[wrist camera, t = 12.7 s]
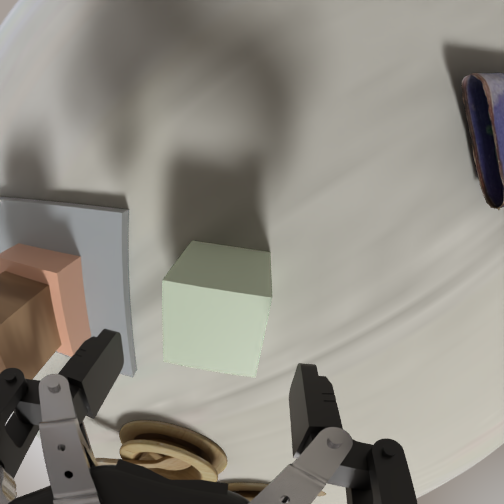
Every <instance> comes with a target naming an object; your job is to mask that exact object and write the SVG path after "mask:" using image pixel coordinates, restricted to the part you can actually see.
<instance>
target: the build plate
mask: <svg viewBox="0 0 504 504" xmlns="http://www.w3.org/2000/svg"><path fill="white" fill-rule="evenodd" d="M128 218H129V210H128V209H119V208H111V207H102V206H93V205H84V204H74V203H65V202H55V201H44V200H34V199H23V198H11V197H0V274H1V273H2V272H4V271H7V272H10V273H13V274H16V275H19V276H22V277H25V278H28V279H32V280H35V281H38V282H41V283H45V284H48V285H49V288H50V293H51V299H52V304H53V309H54V314H55V319H56V323H57V328H58V332H59V336H60V340H61V344H62V345H61V346H60V347H59V348H58V349H57V350H56V352H58V353H60V354H63V355H65V356H68V357H72V356H73V355H74V353H75V352H76V351H77V350H79V347H80V346H81V345H82V344H83V342H84V341H86V340H87V339H89V338H91V337H93V336H94V337H97V336H98V335H99V334H100V333H101V331H102V330H103V329H109V330H113V331H117V332H120V334H121V339H122V347H123V354H124V364H123V368H122V370H121V372H120V374H123V375H126V376H130V377H133V376H134V374H135V373H136V371H137V367H136V360H135V351H134V342H133V332H132V321H131V308H130V291H129V264H128Z"/></svg>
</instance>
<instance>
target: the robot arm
mask: <svg viewBox="0 0 504 504" xmlns="http://www.w3.org/2000/svg"><path fill="white" fill-rule="evenodd" d="M123 364H124V354H123V347H122V339H121V334H120V332H117V331H113V330H109V329H103V330H102V331H101V333H100V334H99V335H98V336H97V337H94V336H93V337H91V338H89V339H87V340H86V341H84V342H83V344H82V345H81V346H80V347H79V350H77V351H76V352H75V353H74V355H73V356H72V357H71V358H70V360H69V361H68V362H67V363H66V365H65V366H64V367H63V368H62V370H61V371H60V372H59V373H58V374H50V375H47V376H45V377H44V378H42V379H41V381H38V380H31V379H25V376H24V374H23V372H22V371H21V370H19V369H17V368H7V369H5V370H3V371H2V372H1V373H0V504H311V503H312V502H313V500H314V499H315V498H316V497H317V495H318V494H319V493H320V492H321V490H322V489H323V488H324V487H325V485H326V483H328V484H333V485H337V486H342V487H346V495H347V504H417V500H416V495H415V491H414V487H413V483H412V479H411V476H410V472H409V468H408V464H407V461H406V457H405V454H404V450H403V448H402V446H401V445H400V444H399V443H398V442H396V441H394V440H392V439H381V440H378V441H377V442H376V443H375V444H374V445H371V444H366V443H361V442H357V441H355V440H353V439H352V438H351V436H350V434H349V433H348V432H346V431H345V430H343V428H342V424H341V419H340V415H339V411H338V407H337V402H336V398H335V395H334V390H333V386H332V384H331V383H330V381H329V380H328V379H327V378H326V376H318V372H317V367H316V365H314V364H301V363H299V364H298V366H297V369H296V372H295V375H294V378H293V381H292V384H291V388H290V393H289V406H290V419H291V433H292V448H293V458H297V459H296V460H295V461H294V462H293V463H292V464H289V465H288V466H287V467H286V468H285V469H284V470H283V471H282V472H281V473H280V474H279V475H278V476H277V477H276V478H275V479H274V480H273V481H272V482H271V483H270V484H269V485H268V486H266V487H265V488H264V489H263V490H262V491H261V492H260V493H259V494H258V495H257V496H256V497H255V498H254V499H252V500H251V501H249V500H248V499H246V498H245V497H243V496H241V495H239V494H237V493H235V492H232V491H230V490H228V484H227V483H219V482H212V481H206V480H171V479H168V478H166V477H163V476H161V475H159V474H157V473H155V472H153V471H151V470H149V469H147V468H146V467H143V466H140V465H137V464H133V463H130V462H127V461H124V460H121V459H118V462H117V464H116V465H100V466H98V464H97V462H96V460H95V457H94V455H93V452H92V449H91V445H90V442H89V439H88V436H87V432H86V429H85V425H84V422H83V420H84V418H85V416H89V417H91V418H95V416H96V415H97V413H98V411H99V409H100V407H101V405H102V404H103V402H104V400H105V398H106V397H107V395H108V393H109V391H110V389H111V388H112V386H113V384H114V382H115V381H116V379H117V377H118V376H119V374H120V372H121V370H122V368H123ZM13 411H14V413H13V415H12V416H11V418H10V419H9V421H8V423H7V424H6V421H7V420H8V418H9V417H10V415H11V414H12V412H13ZM5 424H6V426H5ZM39 430H40V437H41V443H42V448H43V453H44V459H45V463H46V468H47V472H48V476H49V481H50V486H48V487H45V488H43V489H40V490H37V491H35V492H32V493H29V494H26V495H24V496H21V497H18V498H16V496H17V493H16V484H15V481H14V477H15V475H16V473H17V471H18V469H19V467H20V465H21V463H22V461H23V459H24V457H25V455H26V453H27V451H28V449H29V447H30V445H31V444H32V442H33V440H34V438H35V436H36V434H37V432H38V431H39Z"/></svg>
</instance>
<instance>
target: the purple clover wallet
mask: <svg viewBox="0 0 504 504" xmlns="http://www.w3.org/2000/svg"><path fill="white" fill-rule="evenodd" d="M461 86H462V92H463V93H462V96H463V97H462V98H463V102H464V106H465V112H466V116H467V121H468V126H469V133H470V136H471V140H472V143H471V144H472V148H473V156H474V161H475V163H476V170H477V173H478V177H479V181H480V186H481V189H482V192H483V196H484V198H485V200H486V203H487V204H489V205H490V207H491V208H494V209H495V208H497V209H498V210H499V209H500V208H502V207H504V74H502V73H472V74H469V75H468V76H466V77H464V79H463V80H462V85H461Z"/></svg>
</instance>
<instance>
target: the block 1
mask: <svg viewBox="0 0 504 504" xmlns="http://www.w3.org/2000/svg"><path fill="white" fill-rule="evenodd" d="M61 345H62V344H61V340H60V336H59V332H58V328H57V323H56V319H55V314H54V309H53V304H52V299H51V293H50V288H49V285H48V284H45V283H41V282H38V281H35V280H32V279H28V278H25V277H22V276H19V275H16V274H13V273H10V272H7V271H4V272H2V273H1V274H0V373H1V372H2V371H3V370H5V369H7V368H17V369H19V370H21V371H22V372H23V374H24V376H25V379H31V380H32V379H33V378H34V377H35V376H36V374H37V373H38V372H39V371H40V369H41V368H42V367H43V366H44V365H45V363H46V362H47V361H48V360H49V359H50V357H51V356H52V355H53V354H54V353H55V352H56V350H57V349H58V348H59V347H60V346H61Z"/></svg>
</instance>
